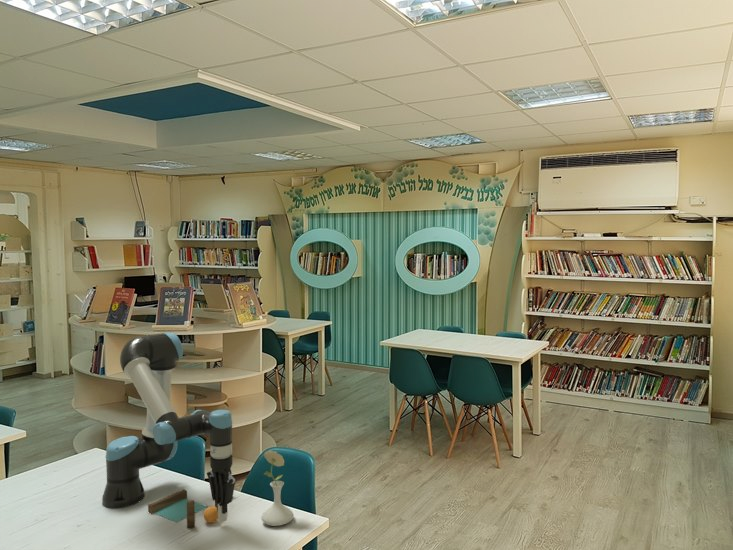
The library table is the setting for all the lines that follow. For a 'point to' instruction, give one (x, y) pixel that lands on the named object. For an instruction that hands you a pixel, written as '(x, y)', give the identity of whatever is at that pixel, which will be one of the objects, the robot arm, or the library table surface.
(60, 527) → the library table surface
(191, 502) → the post
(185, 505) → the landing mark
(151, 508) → the stopper wall
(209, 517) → the ball
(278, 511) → the flower in vase
